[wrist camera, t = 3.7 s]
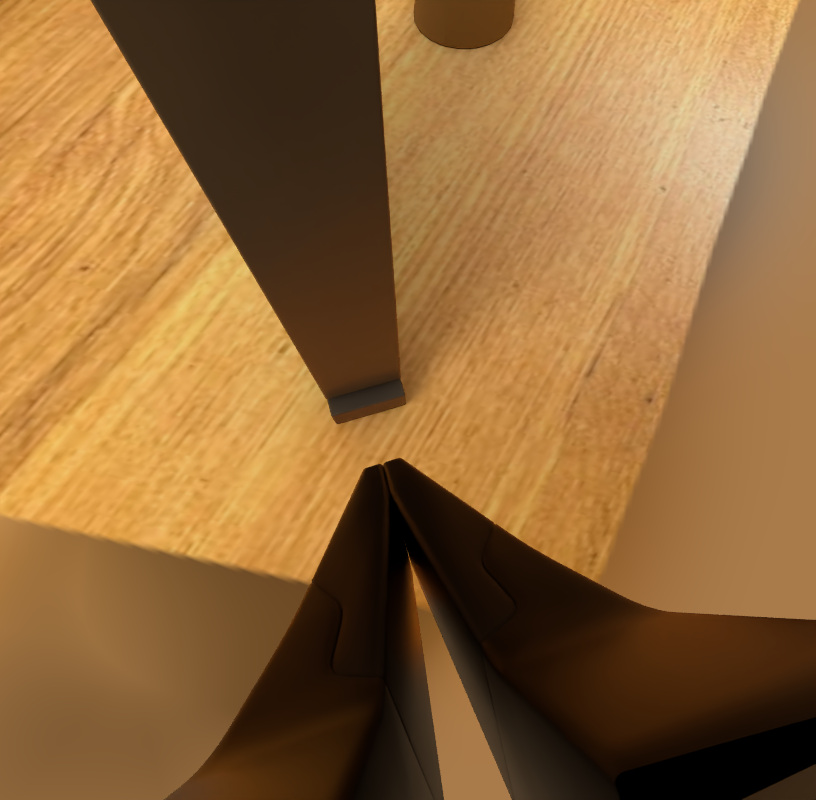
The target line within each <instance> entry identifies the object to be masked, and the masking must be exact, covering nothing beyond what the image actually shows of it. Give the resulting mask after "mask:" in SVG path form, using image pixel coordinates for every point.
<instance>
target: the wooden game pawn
mask: <svg viewBox="0 0 816 800" xmlns="http://www.w3.org/2000/svg"><path fill="white" fill-rule="evenodd" d="M514 6H515V0H415V5H414V21H415V23H416V25H417V27H418V28H419V30H420V32H422V33H423V34H424V35H425V36H427V37H428V38H429V39H430V40H432V41H435V42H437V43H439V44H442V45H444V46H449V47H455V48H477V47H481V46H484V45H488V44H491V43H493V42H495V41H496V40H498V39H500V38H502V37H503V36H504V35H505V34H506V32H507V31H508V30H509V29H510V28H511V25H512V21H513V18H514Z"/></svg>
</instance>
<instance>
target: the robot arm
mask: <svg viewBox="0 0 816 800" xmlns="http://www.w3.org/2000/svg"><path fill="white" fill-rule="evenodd" d="M383 467H384V468H383ZM405 544H406V545H405ZM407 551H408V552H407ZM408 554H409V556H408ZM409 557H410V560H409ZM410 561H411V563H412V566H413V569H414V571H415V574H416V576H417V578H418V581H419V583H420V585H421V588H422V590H423V592H424V595H425V597H426V599H427V602H428V604H429V606H430V609H431V611H432V613H433V615H434V618H435V620H436V623H437V625H438V627H439V629H440V632H441V634H442V637H443V639H444V641H445V644H446V646H447V648H448V651H449V653H450V656H451V658H452V660H453V662H454V665H455V667H456V670H457V672H458V674H459V677H460V679H461V681H462V684H463V686H464V688H465V691H466V693H467V695H468V698H469V700H470V702H471V705H472V707H473V709H474V712H475V714H476V716H477V719H478V721H479V723H480V726H481V728H482V730H483V733H484V735H485V738H486V740H487V742H488V745H489V747H490V749H491V751H492V754H493V756H494V758H495V761H496V763H497V766H498V768H499V770H500V773H501V775H502V777H503V780H504V782H505V784H506V787H507V789H508V791H509V794H510V796H511V798H512V800H816V620H805V619H785V618H767V617H748V616H731V615H713V614H695V613H676V612H666V611H661V610H657V609H653V608H650V607H646V606H643V605H641V604H639V603H636V602H634V601H631V600H629V599H627V598H625V597H623V596H621V595H619V594H617V593H615V592H613V591H611V590H609V589H607V588H605V587H604V586H602V585H600V584H598V583H596V582H594V581H592V580H591V579H589V578H587V577H585V576H583V575H581V574H579V573H577V572H575V571H573V570H572V569H570V568H568V567H566V566H564V565H562V564H560V563H558V562H556V561H555V560H553V559H551V558H549V557H547V556H546V555H544V554H542V553H540V552H539V551H537V550H535V549H533V548H532V547H530V546H528V545H527V544H525V543H524V542H522V541H520V540H519V539H517V538H516V537H514V536H513V535H511V534H510V533H508V532H507V531H505V530H504V529H502V528H501V527H500V526H498V525H497V524H494V523H493V522H492V521H491V520H489V519H488V518H486V517H485V516H484V515H482V514H481V513H479V512H478V511H476V510H475V509H474V508H472V507H471V506H469V505H468V504H466V503H465V502H463V501H462V500H461V499H459V498H458V497H456V496H455V495H453V494H452V493H451V492H449V491H448V490H446V489H445V488H443V487H442V486H440V485H439V484H438V483H436V482H435V481H433V480H432V479H430V478H429V477H428V476H426V475H425V474H423V473H422V472H420V471H419V470H417V469H416V468H415V467H413V466H412V465H410V464H409V463H407V462H406V461H405V460H403V459H401V458H398V459H394V460H391V461H388V462H385V463H384V465H381V464H378V465H375V466H371V467H368V468H365V469H364V470H363V472H362V474H361V476H360V478H359V480H358V482H357V485H356V487H355V489H354V491H353V493H352V495H351V498H350V500H349V502H348V504H347V506H346V508H345V510H344V513H343V515H342V517H341V519H340V521H339V523H338V526H337V528H336V530H335V532H334V534H333V536H332V538H331V541H330V543H329V545H328V547H327V549H326V551H325V554H324V556H323V558H322V560H321V562H320V564H319V566H318V569H317V571H316V573H315V575H314V577H313V579H312V583H311V584H310V585H309V588H308V590H307V592H306V594H305V597H304V598H303V600H302V602H301V605H300V607H299V608H298V610H297V612H296V614H295V616H294V619H293V621H292V622H291V624H290V626H289V628H288V630H287V632H286V633H285V635H284V637H283V639H282V640H281V642H280V644H279V646H278V647H277V649H276V651H275V653H274V654H273V656H272V658H271V659H270V661H269V663H268V664H267V666H266V668H265V669H264V671H263V673H262V674H261V676H260V678H259V679H258V681H257V683H256V684H255V686H254V688H253V689H252V691H251V693H250V694H249V696H248V698H247V699H246V701H245V703H244V704H243V706H242V708H241V709H240V711H239V713H238V714H237V716H236V718H235V719H234V721H233V723H232V724H231V726H230V728H229V729H228V731H227V732H226V734H225V735H224V737H223V739H222V740H221V742H220V743H219V745H218V746H217V747H216V749H215V750H214V751H213V753H212V754H211V756H210V757H209V758H208V759H207V761H206V762H205V763H204V764H203V765H202V766H201V768H200V769H199V770H198V771H197V772H196V773H195V774H194V775H193V776H192V777H191V778H190V779H189V780H188V781H187V782H185V783H184V784H183V785H182V786H181V787H179V788H178V789H177V790H176V791H174V792H173V793H172V794H170V795H169V796H168V797H167V798H165V799H164V800H444V797H443V790H442V783H441V776H440V770H439V763H438V755H437V747H436V740H435V733H434V726H433V719H432V713H431V705H430V698H429V691H428V684H427V677H426V669H425V663H424V655H423V648H422V641H421V634H420V627H419V621H418V613H417V606H416V599H415V591H414V584H413V577H412V571H411V565H410Z"/></svg>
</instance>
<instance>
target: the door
mask: <svg viewBox="0 0 816 800" xmlns="http://www.w3.org/2000/svg"><path fill="white" fill-rule="evenodd" d="M91 2H92V3H93V5H94V7H95V8H96V10H97V12H98V14H99V15H100V17H101V19H102V20H103V22H104V24H105V25H106V27H107V29H108V30H109V32H110V34H111V36H112V37H113V39H114V41H115V42H116V44H117V46H118V47H119V49H120V51H121V52H122V54H123V56H124V58H125V59H126V61H127V63H128V64H129V66H130V68H131V69H132V71H133V73H134V74H135V76H136V78H137V80H138V81H139V83H140V85H141V86H142V88H143V90H144V91H145V93H146V95H147V96H148V98H149V100H150V102H151V103H152V105H153V107H154V108H155V110H156V112H157V113H158V115H159V117H160V118H161V120H162V122H163V124H164V125H165V127H166V129H167V130H168V132H169V134H170V135H171V137H172V139H173V140H174V142H175V144H176V146H177V147H178V149H179V151H180V152H181V154H182V156H183V157H184V159H185V161H186V162H187V164H188V166H189V168H190V169H191V171H192V173H193V174H194V176H195V178H196V179H197V181H198V183H199V184H200V186H201V188H202V190H203V191H204V193H205V195H206V196H207V198H208V200H209V201H210V203H211V205H212V206H213V208H214V210H215V212H216V213H217V215H218V217H219V218H220V220H221V222H222V223H223V225H224V227H225V228H226V230H227V232H228V234H229V235H230V237H231V239H232V240H233V242H234V244H235V245H236V247H237V249H238V250H239V252H240V254H241V256H242V257H243V259H244V261H245V262H246V264H247V266H248V267H249V269H250V271H251V272H252V274H253V276H254V278H255V279H256V281H257V283H258V284H259V286H260V288H261V289H262V291H263V293H264V294H265V296H266V298H267V300H268V301H269V303H270V305H271V306H272V308H273V310H274V311H275V313H276V315H277V317H278V318H279V320H280V322H281V323H282V325H283V327H284V328H285V330H286V332H287V333H288V335H289V337H290V339H291V340H292V342H293V344H294V345H295V347H296V349H297V350H298V352H299V354H300V355H301V357H302V359H303V361H304V362H305V364H306V366H307V367H308V369H309V371H310V372H311V374H312V376H313V377H314V379H315V381H316V383H317V384H318V386H319V388H320V389H321V391H322V393H323V394H324V396H325V398H326V399H330V398H334V397H337V396H341V395H344V394H348V393H351V392H355V391H358V390H362V389H365V388H369V387H372V386H376V385H379V384H383V383H386V382H390V381H393V380H397V379H400V378H401V373H400V358H399V344H398V329H397V314H396V299H395V284H394V270H393V255H392V240H391V225H390V211H389V196H388V181H387V166H386V151H385V137H384V122H383V107H382V92H381V78H380V63H379V48H378V33H377V18H376V4H375V0H91Z"/></svg>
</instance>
